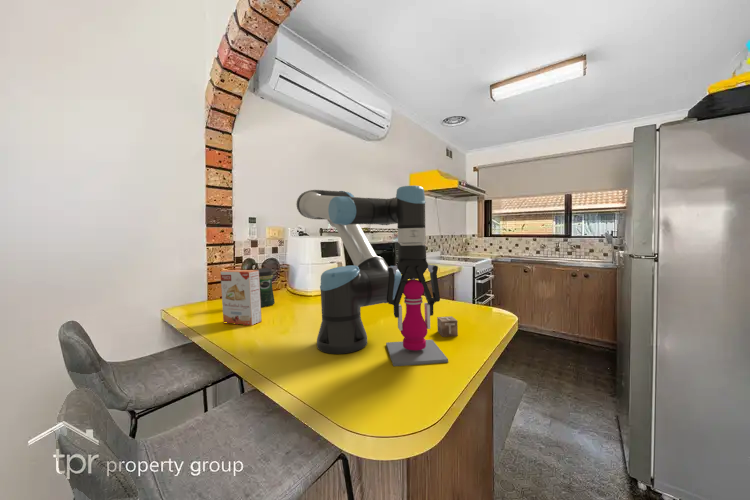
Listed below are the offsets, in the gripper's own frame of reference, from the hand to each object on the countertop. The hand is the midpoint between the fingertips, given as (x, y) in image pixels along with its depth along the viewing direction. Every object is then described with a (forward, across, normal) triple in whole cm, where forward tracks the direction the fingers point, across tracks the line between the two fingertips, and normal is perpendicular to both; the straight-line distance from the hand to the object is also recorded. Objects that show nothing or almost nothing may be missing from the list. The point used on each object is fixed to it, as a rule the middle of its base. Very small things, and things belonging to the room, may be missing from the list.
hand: (413, 327), depth 79 cm
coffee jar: (+7, -60, +69) cm, 92 cm away
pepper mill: (+5, 0, 0) cm, 5 cm away
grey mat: (+7, 0, 0) cm, 7 cm away
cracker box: (+7, -60, +40) cm, 72 cm away
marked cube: (+7, +14, +13) cm, 21 cm away
